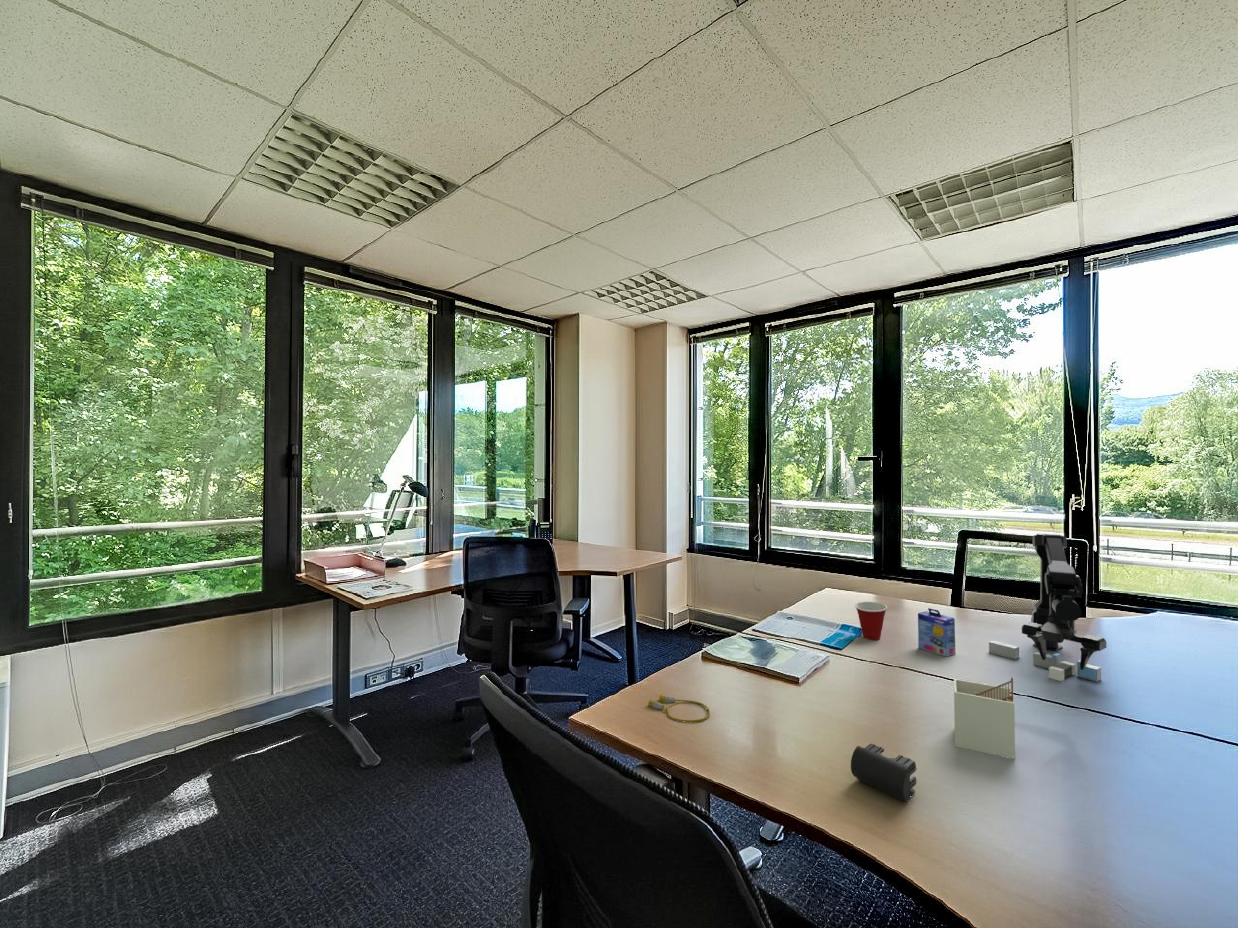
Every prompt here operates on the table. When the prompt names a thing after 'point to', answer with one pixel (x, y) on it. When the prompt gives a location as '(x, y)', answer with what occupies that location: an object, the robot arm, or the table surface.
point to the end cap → (884, 771)
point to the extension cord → (670, 700)
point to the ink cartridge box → (936, 633)
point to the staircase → (984, 717)
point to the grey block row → (1051, 660)
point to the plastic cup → (871, 618)
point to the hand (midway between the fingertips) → (1062, 664)
